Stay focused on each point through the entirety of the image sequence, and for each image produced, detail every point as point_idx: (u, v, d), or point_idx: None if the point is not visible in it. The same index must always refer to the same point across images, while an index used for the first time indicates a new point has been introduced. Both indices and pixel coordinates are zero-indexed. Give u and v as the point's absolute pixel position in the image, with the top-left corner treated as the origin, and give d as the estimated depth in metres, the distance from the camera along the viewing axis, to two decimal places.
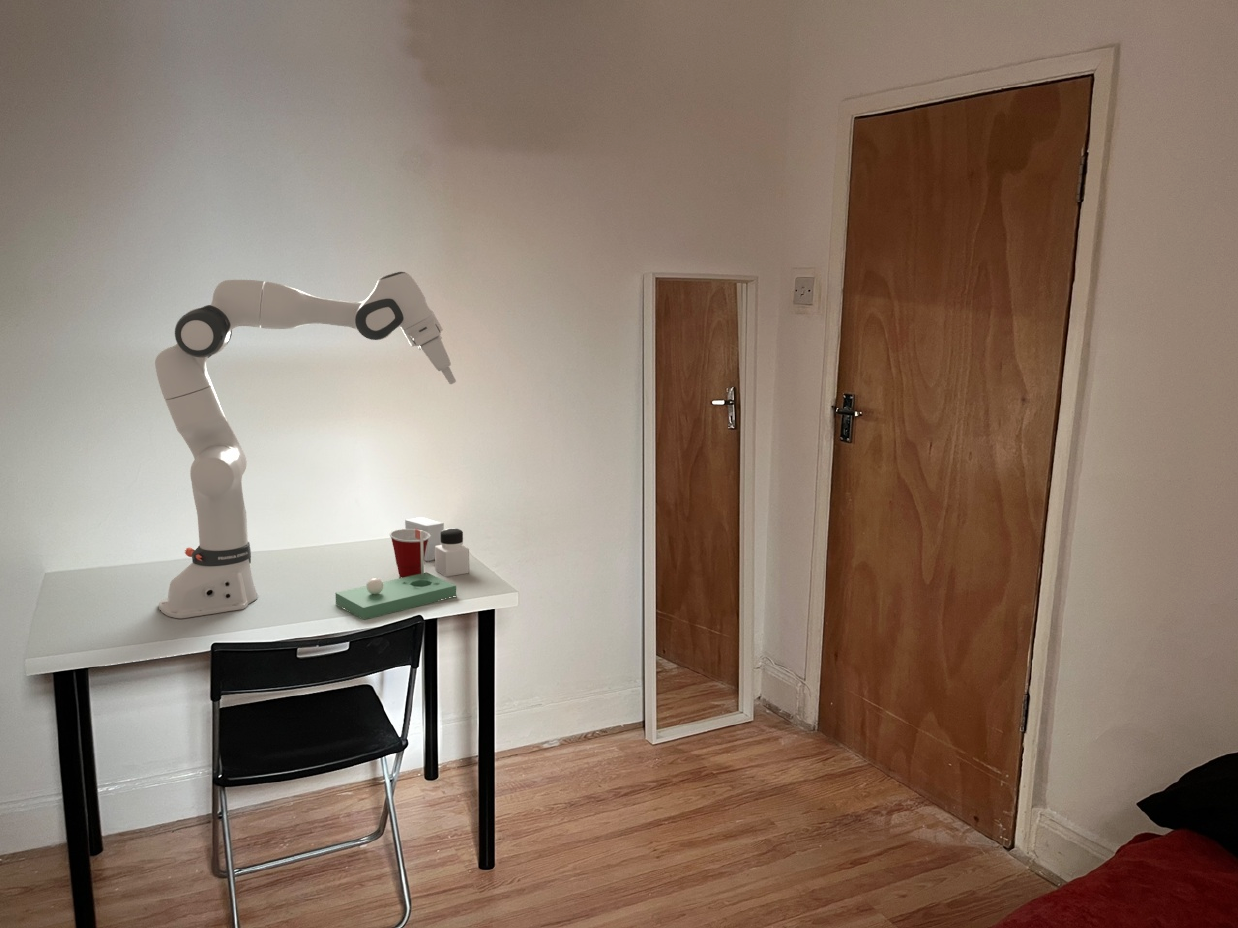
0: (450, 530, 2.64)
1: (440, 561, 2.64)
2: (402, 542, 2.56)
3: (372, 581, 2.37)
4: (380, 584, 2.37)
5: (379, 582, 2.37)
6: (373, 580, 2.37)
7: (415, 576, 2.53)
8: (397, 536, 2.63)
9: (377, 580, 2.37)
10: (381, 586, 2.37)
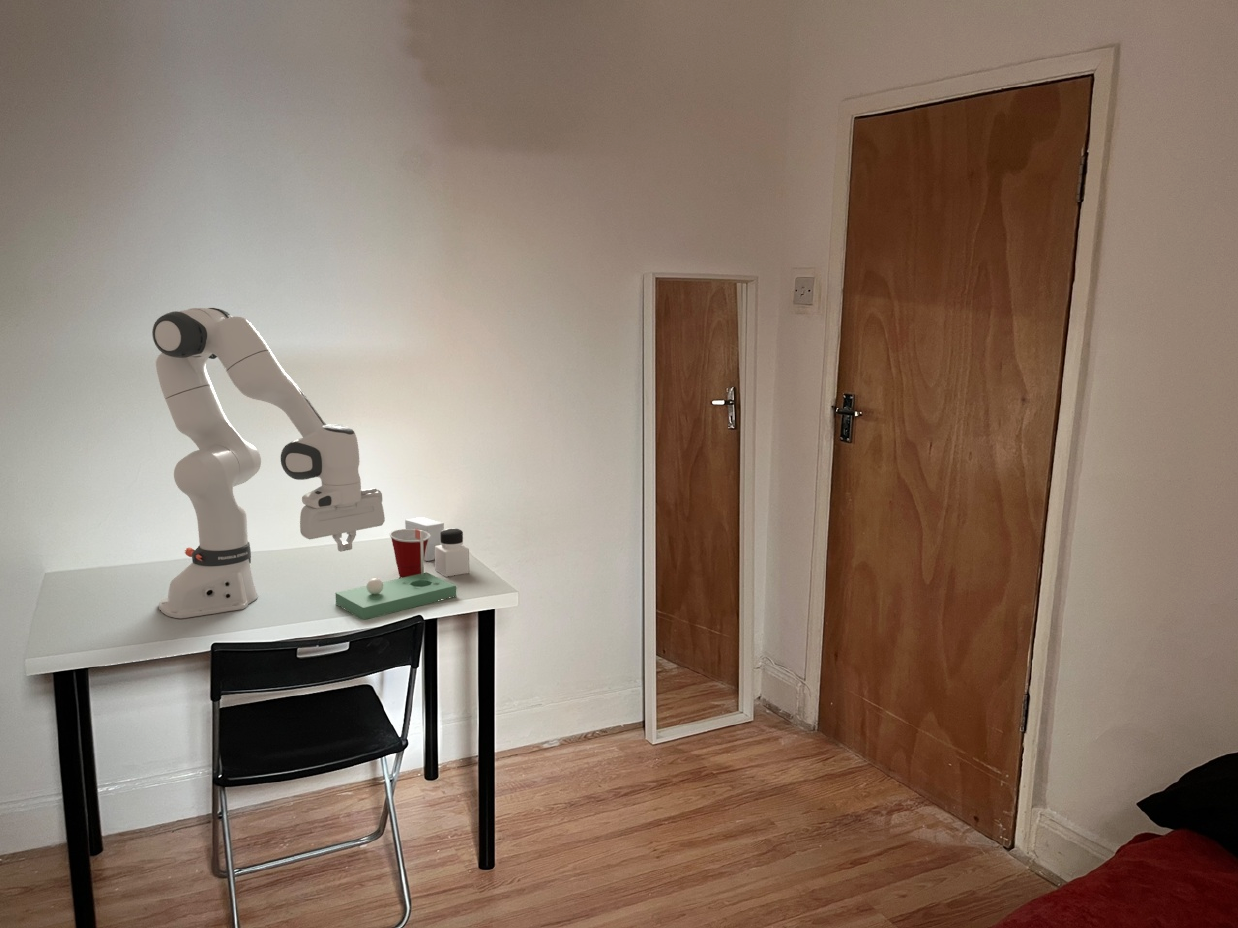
0: (450, 530, 2.64)
1: (440, 561, 2.64)
2: (402, 542, 2.56)
3: (372, 581, 2.37)
4: (380, 584, 2.37)
5: (379, 582, 2.37)
6: (373, 580, 2.37)
7: (415, 576, 2.53)
8: (397, 536, 2.63)
9: (377, 580, 2.37)
10: (381, 586, 2.37)
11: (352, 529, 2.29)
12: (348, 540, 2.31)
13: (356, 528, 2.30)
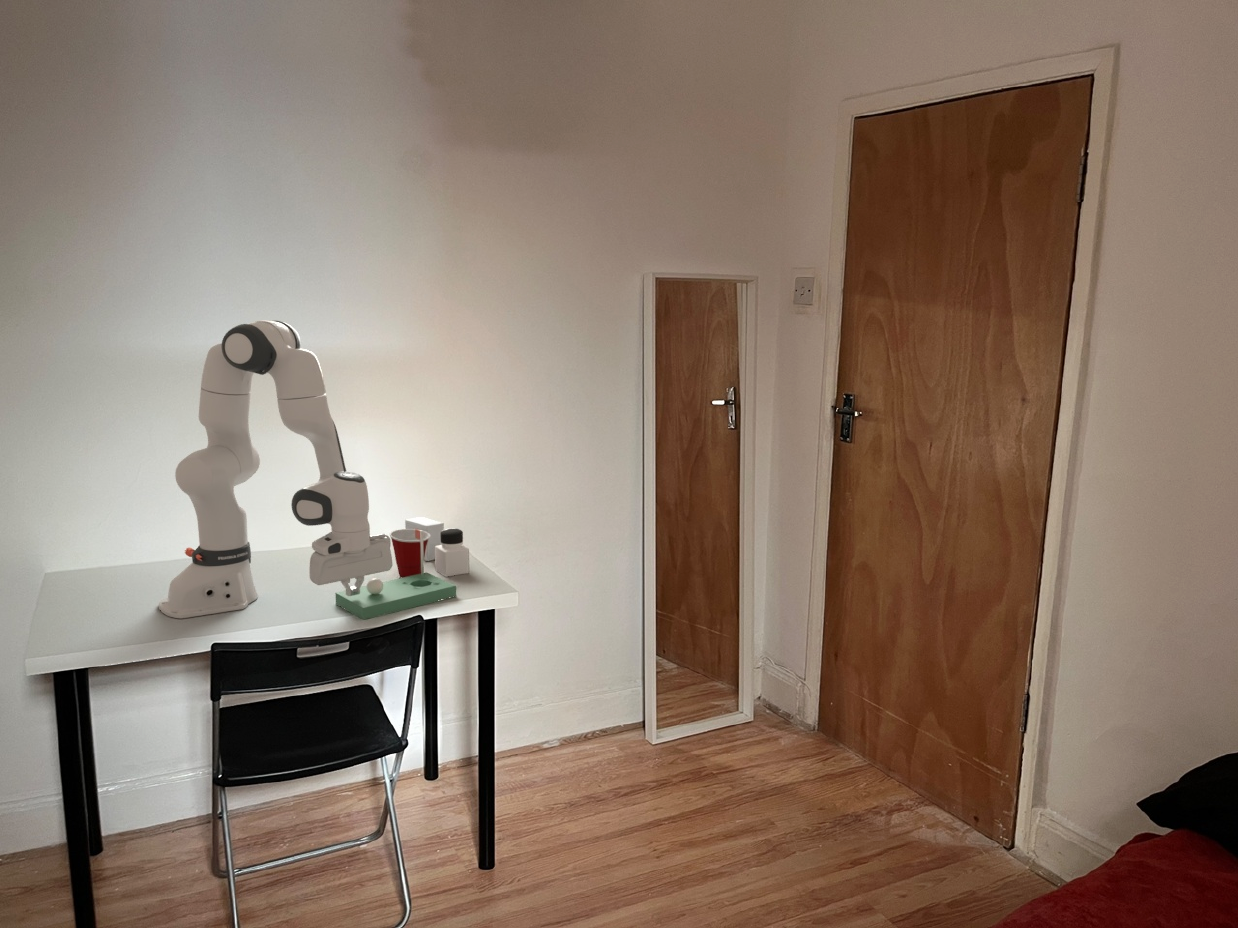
0: (450, 530, 2.64)
1: (440, 561, 2.64)
2: (402, 542, 2.56)
3: (372, 581, 2.37)
4: (380, 584, 2.37)
5: (379, 582, 2.37)
6: (373, 580, 2.37)
7: (415, 576, 2.53)
8: (397, 536, 2.63)
9: (377, 580, 2.37)
10: (381, 586, 2.37)
11: (360, 574, 2.33)
12: (356, 585, 2.35)
13: (364, 573, 2.33)
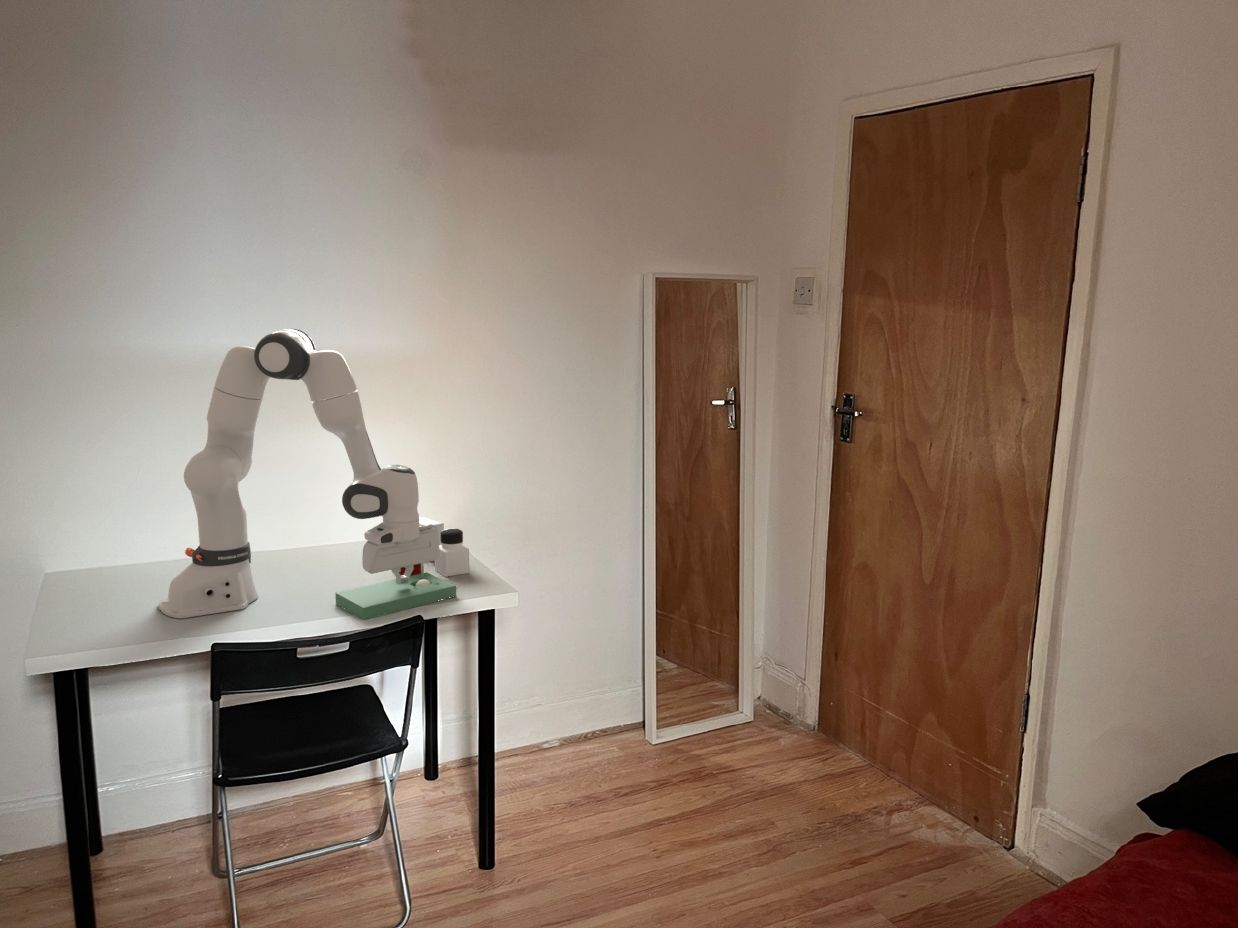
0: (450, 530, 2.64)
1: (440, 561, 2.64)
2: None
3: None
4: None
5: None
6: (429, 582, 2.48)
7: (415, 576, 2.53)
8: None
9: None
10: None
11: (410, 563, 2.42)
12: (406, 573, 2.44)
13: (414, 562, 2.43)
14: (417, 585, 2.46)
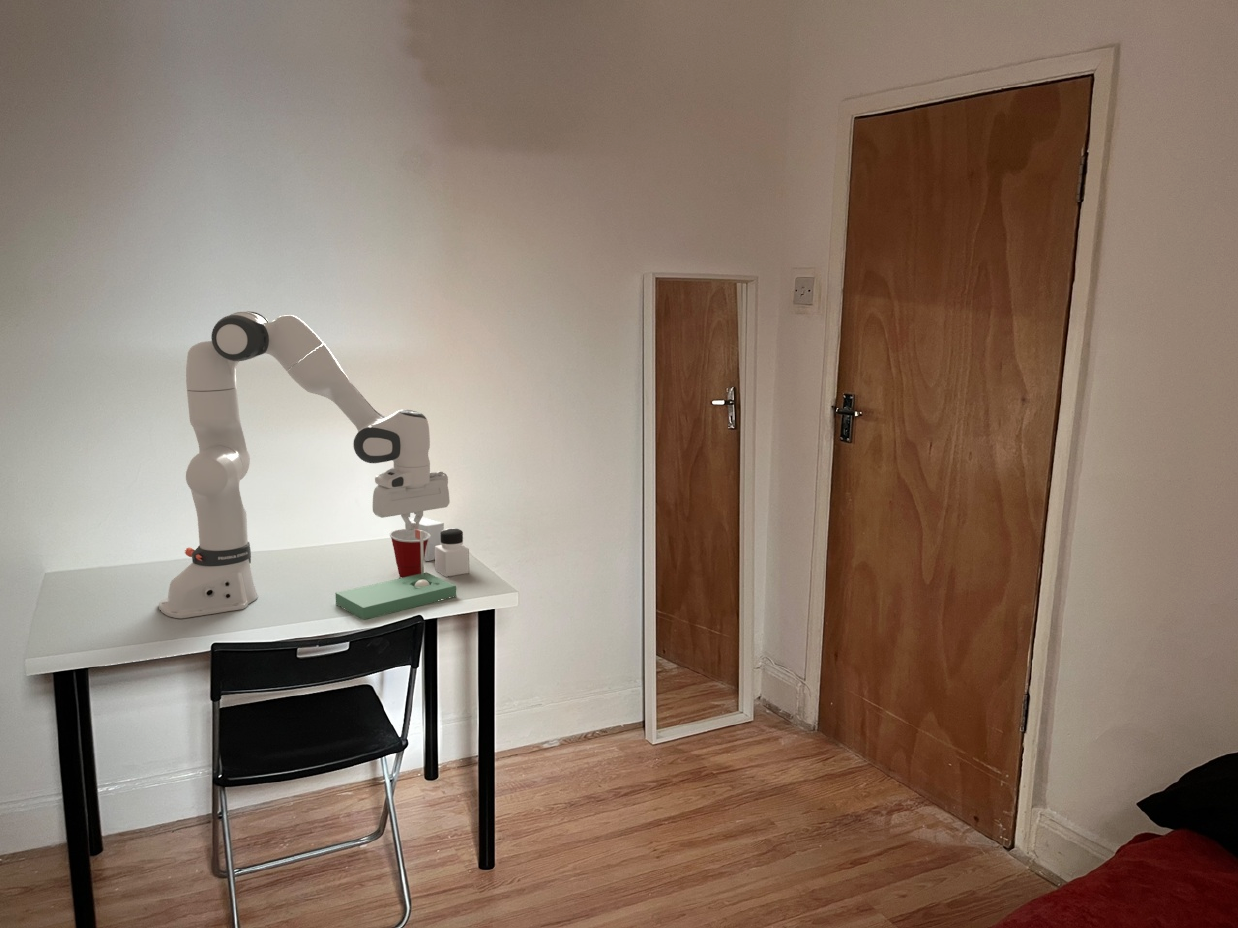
0: (450, 530, 2.64)
1: (440, 561, 2.64)
2: (402, 542, 2.56)
3: (427, 581, 2.47)
4: None
5: None
6: (427, 581, 2.48)
7: (415, 576, 2.53)
8: (397, 536, 2.63)
9: None
10: None
11: (420, 509, 2.42)
12: (415, 520, 2.43)
13: (424, 509, 2.42)
14: None
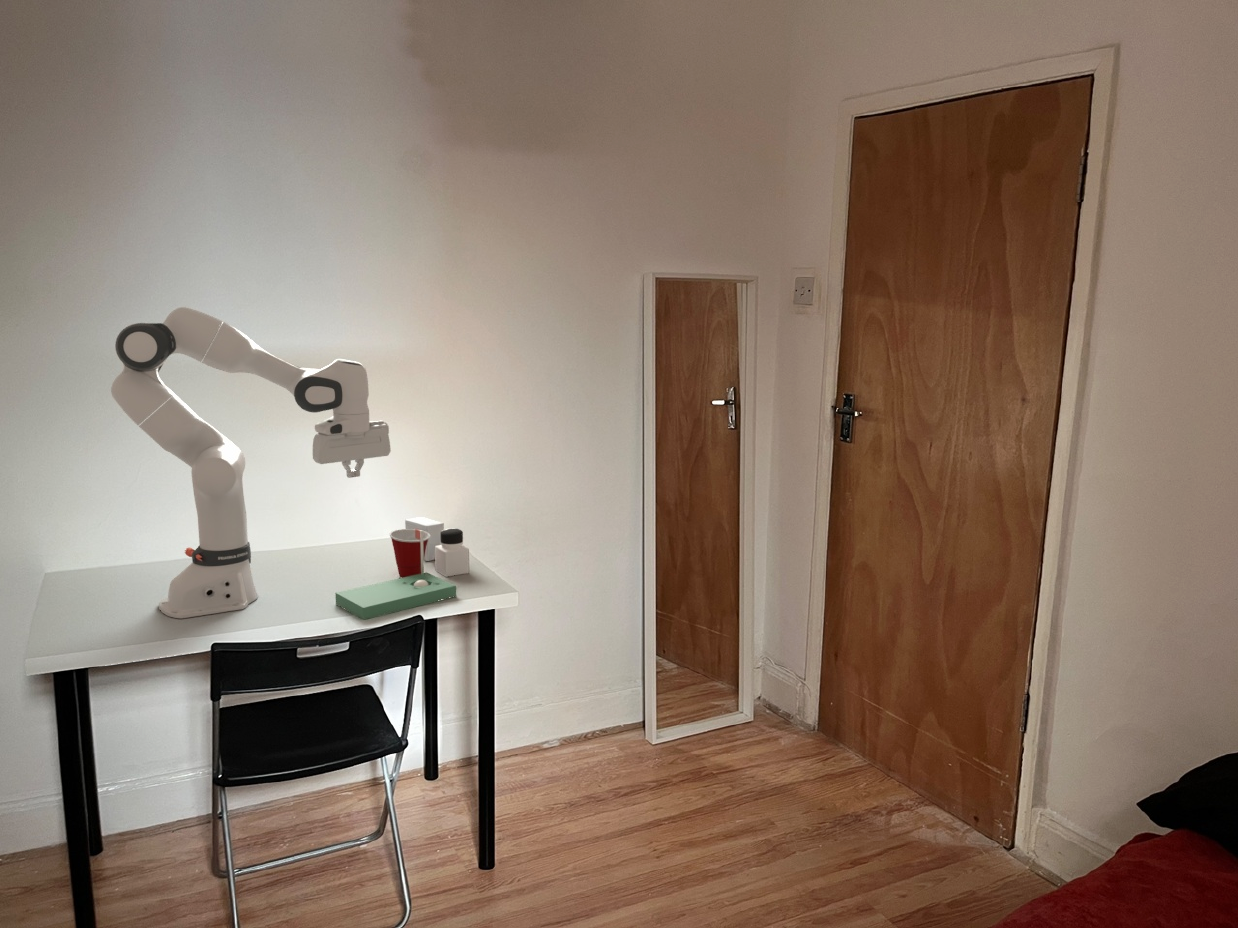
0: (450, 530, 2.64)
1: (440, 561, 2.64)
2: (402, 542, 2.56)
3: (425, 581, 2.47)
4: None
5: None
6: None
7: (415, 576, 2.53)
8: (397, 536, 2.63)
9: (428, 584, 2.47)
10: None
11: (360, 457, 2.47)
12: (356, 468, 2.49)
13: (364, 456, 2.48)
14: None
